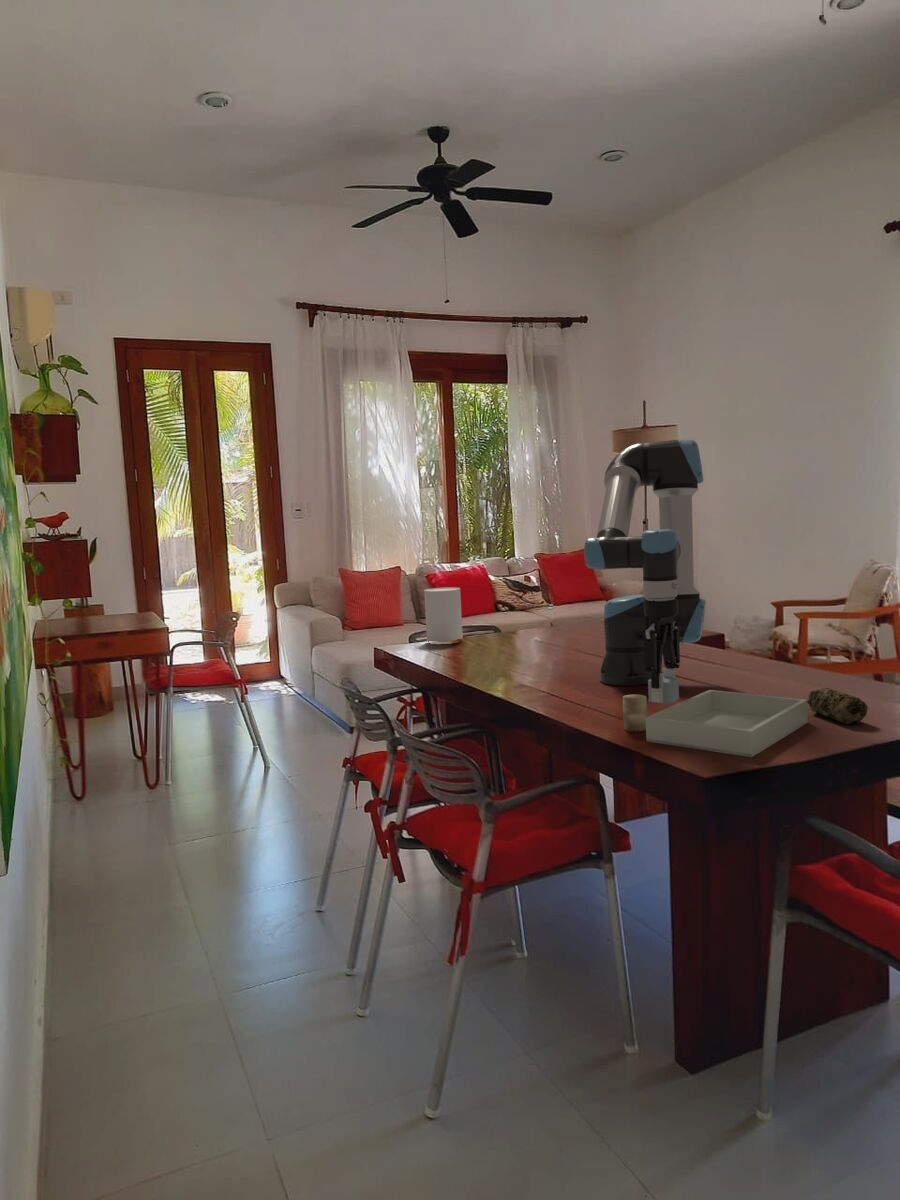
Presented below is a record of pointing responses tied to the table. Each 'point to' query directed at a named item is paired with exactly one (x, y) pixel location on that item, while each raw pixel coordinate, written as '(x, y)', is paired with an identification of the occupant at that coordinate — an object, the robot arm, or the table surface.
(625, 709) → the beech cylinder
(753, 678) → the table surface
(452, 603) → the canister
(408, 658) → the table surface
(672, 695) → the slate cube
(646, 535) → the robot arm
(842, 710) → the coral
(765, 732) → the tote
